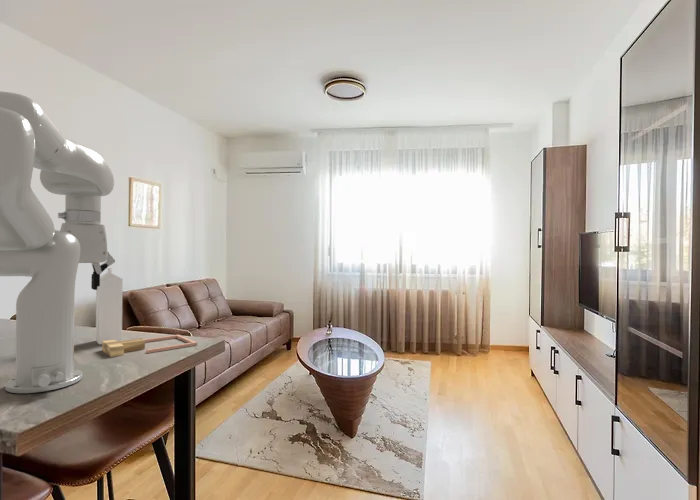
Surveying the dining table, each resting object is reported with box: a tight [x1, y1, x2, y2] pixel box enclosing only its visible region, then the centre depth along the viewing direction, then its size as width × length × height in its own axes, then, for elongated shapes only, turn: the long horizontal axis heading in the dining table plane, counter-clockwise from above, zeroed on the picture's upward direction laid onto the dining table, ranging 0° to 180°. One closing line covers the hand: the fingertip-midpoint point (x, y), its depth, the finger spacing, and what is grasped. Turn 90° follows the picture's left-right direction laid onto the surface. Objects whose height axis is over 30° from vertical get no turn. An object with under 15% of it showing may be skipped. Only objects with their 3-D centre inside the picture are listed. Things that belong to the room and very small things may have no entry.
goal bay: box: [143, 334, 198, 354], centre depth 115 cm, size 14×14×1 cm
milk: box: [95, 266, 124, 345], centre depth 118 cm, size 6×6×22 cm
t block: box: [101, 338, 146, 358], centre depth 108 cm, size 9×9×2 cm
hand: (82, 289), depth 101 cm, fingers open, 4 cm apart
